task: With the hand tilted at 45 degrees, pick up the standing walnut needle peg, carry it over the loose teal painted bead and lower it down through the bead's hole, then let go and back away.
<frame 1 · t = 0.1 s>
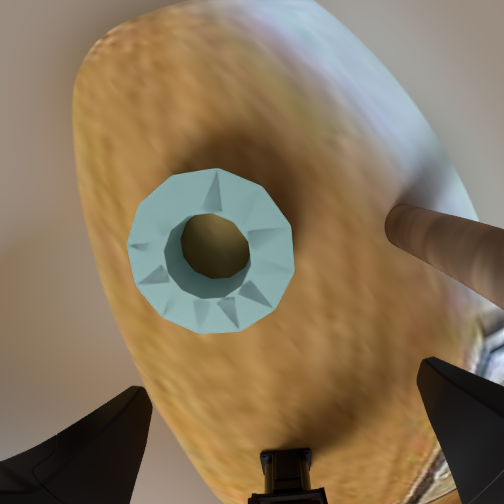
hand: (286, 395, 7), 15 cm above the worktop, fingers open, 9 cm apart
bead: (216, 244, 21), on the worktop
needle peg: (402, 226, 20), on the worktop
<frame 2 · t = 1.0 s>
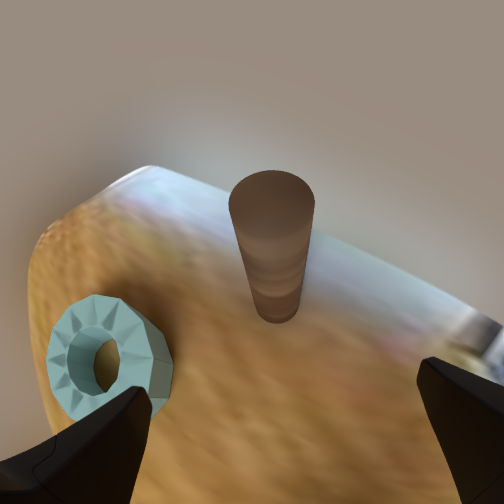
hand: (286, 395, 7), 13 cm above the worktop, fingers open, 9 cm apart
bead: (117, 368, 21), on the worktop
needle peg: (277, 302, 23), on the worktop
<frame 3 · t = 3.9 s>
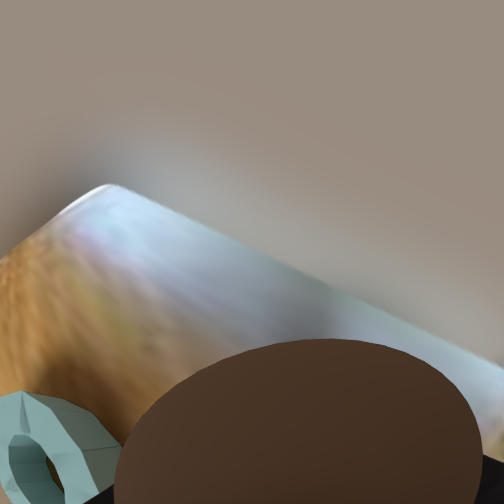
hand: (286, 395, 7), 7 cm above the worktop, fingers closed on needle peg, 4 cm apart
bead: (72, 471, 10), on the worktop
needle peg: (285, 419, 12), on the worktop, touching gripper
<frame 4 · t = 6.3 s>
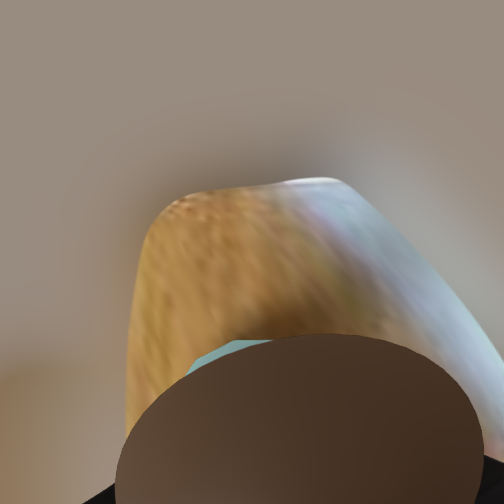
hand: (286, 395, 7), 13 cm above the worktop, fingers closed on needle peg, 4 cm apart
bead: (259, 416, 18), on the worktop
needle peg: (285, 418, 12), point 7 cm above the worktop, touching gripper
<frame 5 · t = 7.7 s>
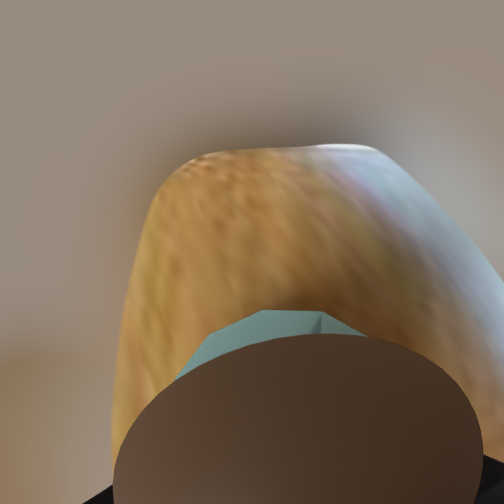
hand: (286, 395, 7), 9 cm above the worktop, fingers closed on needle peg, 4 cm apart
bead: (284, 415, 14), on the worktop
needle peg: (285, 418, 12), point 2 cm above the worktop, touching gripper
when the fingers open (8 cm above the worktop, at t = 8.6 s): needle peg stays where it is, resting in bead.
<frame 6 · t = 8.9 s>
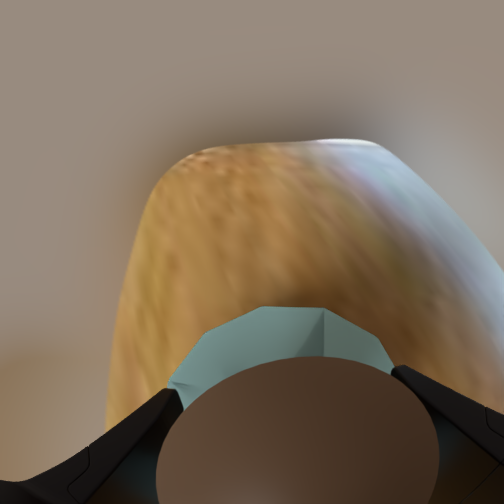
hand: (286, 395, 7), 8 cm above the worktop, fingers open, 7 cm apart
bead: (285, 418, 13), on the worktop
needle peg: (285, 418, 13), resting in bead
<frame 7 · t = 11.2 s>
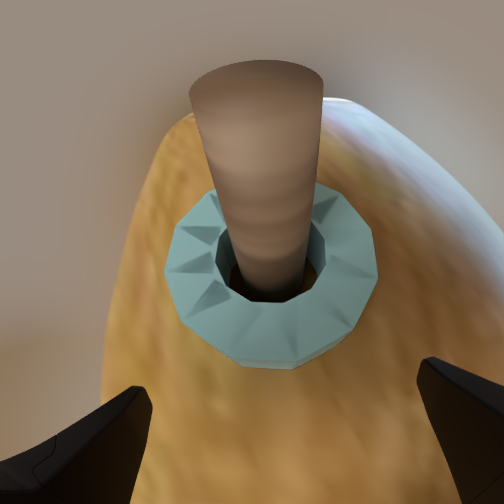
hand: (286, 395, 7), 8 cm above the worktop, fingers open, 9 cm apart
bead: (273, 281, 17), on the worktop
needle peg: (273, 282, 17), resting in bead
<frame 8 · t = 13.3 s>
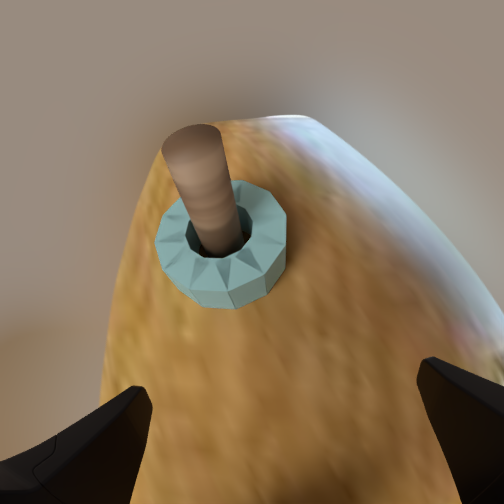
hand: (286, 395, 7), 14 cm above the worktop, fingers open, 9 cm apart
bead: (226, 252, 26), on the worktop
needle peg: (227, 252, 26), resting in bead
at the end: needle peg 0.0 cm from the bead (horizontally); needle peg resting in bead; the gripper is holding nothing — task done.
